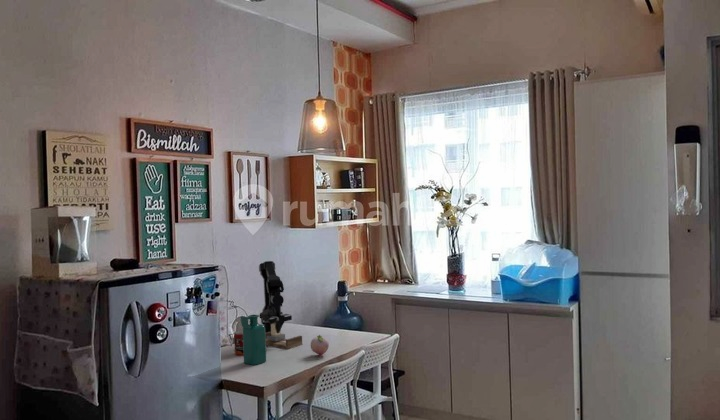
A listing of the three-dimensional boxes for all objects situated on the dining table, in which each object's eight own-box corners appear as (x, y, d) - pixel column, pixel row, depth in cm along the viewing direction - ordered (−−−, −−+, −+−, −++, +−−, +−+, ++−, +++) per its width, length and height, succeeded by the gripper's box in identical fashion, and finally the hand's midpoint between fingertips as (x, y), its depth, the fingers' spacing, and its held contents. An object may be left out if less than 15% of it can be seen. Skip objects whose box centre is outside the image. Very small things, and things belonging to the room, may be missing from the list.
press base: (258, 343, 310) (258, 334, 310) (272, 339, 318) (272, 331, 318) (288, 349, 296) (288, 340, 296) (302, 344, 304) (301, 335, 304)
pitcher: (256, 358, 280) (254, 312, 280) (268, 361, 275) (266, 314, 274) (239, 363, 273) (238, 315, 272) (251, 366, 267) (250, 317, 267)
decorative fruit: (308, 354, 285) (307, 333, 285) (324, 352, 288) (324, 331, 288) (314, 359, 276) (313, 337, 276) (330, 356, 279) (330, 335, 279)
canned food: (231, 354, 289) (230, 332, 288) (242, 350, 296) (241, 328, 296) (244, 356, 285) (243, 333, 285) (254, 352, 292) (253, 330, 292)
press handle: (267, 340, 308) (266, 324, 308) (277, 337, 314) (276, 321, 313) (275, 341, 304) (274, 325, 304) (285, 338, 310) (284, 322, 310)
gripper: (251, 303, 308) (252, 333, 308) (276, 307, 296) (277, 338, 297) (267, 300, 317) (268, 329, 317) (292, 303, 305) (293, 333, 305)
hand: (276, 332), depth 309 cm, fingers closed on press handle, 3 cm apart
